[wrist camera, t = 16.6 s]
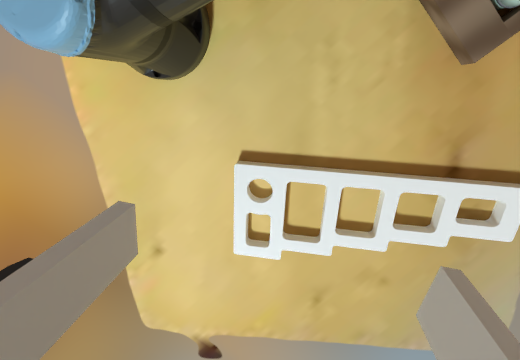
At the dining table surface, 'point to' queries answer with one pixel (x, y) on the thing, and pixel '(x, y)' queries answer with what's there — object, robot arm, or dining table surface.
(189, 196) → the dining table surface
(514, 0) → the tapered peg
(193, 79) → the dining table surface
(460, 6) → the walnut board
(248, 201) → the holder
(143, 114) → the dining table surface
